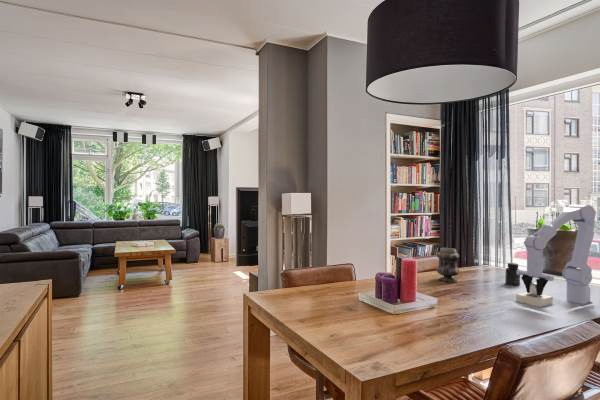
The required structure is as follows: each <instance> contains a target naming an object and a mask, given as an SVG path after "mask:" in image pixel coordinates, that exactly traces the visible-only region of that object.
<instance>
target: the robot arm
mask: <svg viewBox="0 0 600 400" xmlns="http://www.w3.org/2000/svg"><path fill="white" fill-rule="evenodd" d="M596 215H597V211H596V210H595V208H594V207H593V206H592V205H590V204H567V205H566V206H565V207H564V208H563V209H562V212H561V213H560V214H558V215H557V216H556V217H555V219H554V220H552V221H551V223H550V224H548V223H547V224H543V225H541V226H540V228H539V229H538V230H536V231H535V232H533V234H532V235H531V234H530V235H528V236H526V238H525V240H524V241H523V244H524V246H525V249H526V254H527V255H526V270H522V269H519V270H517V275H520V280H522V281H523V284H524V287H525V289H526V290H525V291H526V292H527V293H529V283H530V282H533V278H535V281H536V282H535V283H537V288H538V289H537V294H538V295H539V296H540V295H543V291H544V288H545V287H546V285H547V283H548V282H553V281H554V278H555V276H554V275H550V274H546V273H543V260H544V259H543V253H544V251H543V250H544V249H545V248H547V245H548V244H547V243H548V242H549V241H550V240H551V239H552V238H554V236H556V235H557V230H559V229H560V228H561V227H563V226H564V225H565V224H568V222H570V221H572V222H573V223H574V224H576V225H577V228H578V229H577V233H576V237H575V241H574V242H575V243H574V247H573V252H572V257H571V260H570V261H568V262H566V264H565V267H564V268H563V270H562V273H561V274H562V277H563V279H564V280H565V282H566V301H567V302H570V303H573V304H574V303H575V304H581V305H579V306H580V307H586V306H589V305H592V304H594V303H593V302H591V288H590V286H589V284H590V283H591V282H592V279H593V274H592V271H593V269H592V267H591V266H589V264H588V260H589V255H590V250H591V245H592V241H593V234H594V232H595V231H594V230H595V226H596V225H595V224H596V223H595V219H596Z"/></svg>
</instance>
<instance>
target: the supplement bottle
mask: <svg viewBox="0 0 600 400" xmlns="http://www.w3.org/2000/svg"><path fill="white" fill-rule="evenodd" d="M517 270H520V269H519V264H518V263H515V262H509V263H508V262H507V268H505V272H504V273H505V275H504V279H505V281H504V283H505V285H507V286H512V287H519V286H521V275H517Z"/></svg>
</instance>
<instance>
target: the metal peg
mask: <svg viewBox="0 0 600 400" xmlns="http://www.w3.org/2000/svg"><path fill="white" fill-rule="evenodd" d="M537 289H538V288H537V282H535V281H534V282H533V281H532V282H530V283H529V296H532V297H536V298H538V297H540V296H539V295H538V294H537Z"/></svg>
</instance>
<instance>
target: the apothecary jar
mask: <svg viewBox="0 0 600 400" xmlns="http://www.w3.org/2000/svg"><path fill="white" fill-rule="evenodd" d="M439 249H440V250H439V251H438V252H437V254H436V257H437V259H438V265H437V267H436V272H437V273H438V275H439V274H440V275H441V276H442V277H439V278H438V279H439V280H442V281H441V282H443V281H448V282H447V283H457V282H458V280H457V279H456V278H454V277H455V276H457V275H459V274H460V269H459V268H458V260H459V259H460V254H459V253H458V251H457V249H456V248H449V247H441V248H439ZM439 280H438V281H439ZM456 281H457V282H456Z"/></svg>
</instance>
